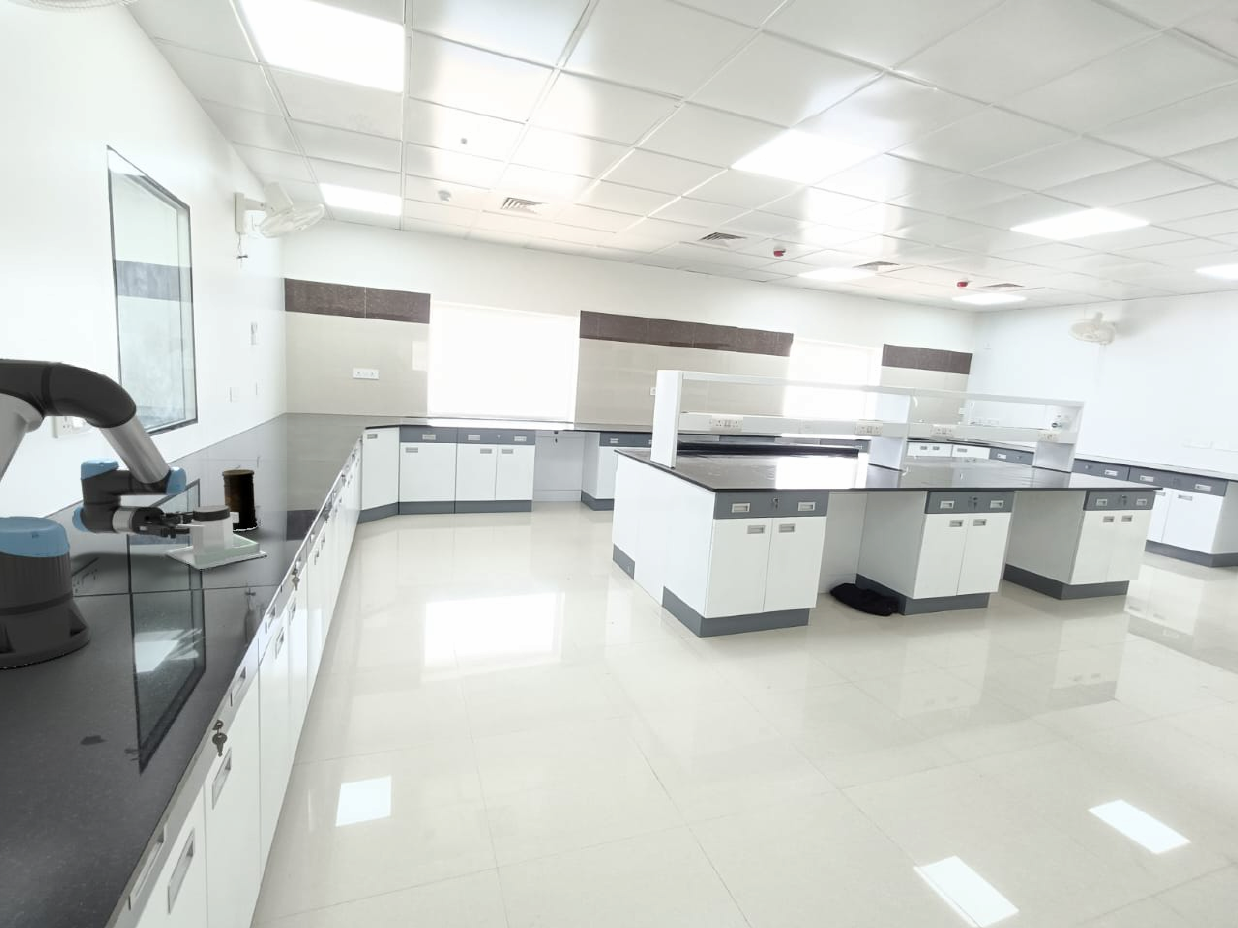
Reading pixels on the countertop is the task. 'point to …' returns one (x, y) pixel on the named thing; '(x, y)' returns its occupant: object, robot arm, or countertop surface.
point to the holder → (216, 553)
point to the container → (240, 496)
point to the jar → (213, 529)
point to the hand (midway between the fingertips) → (221, 523)
